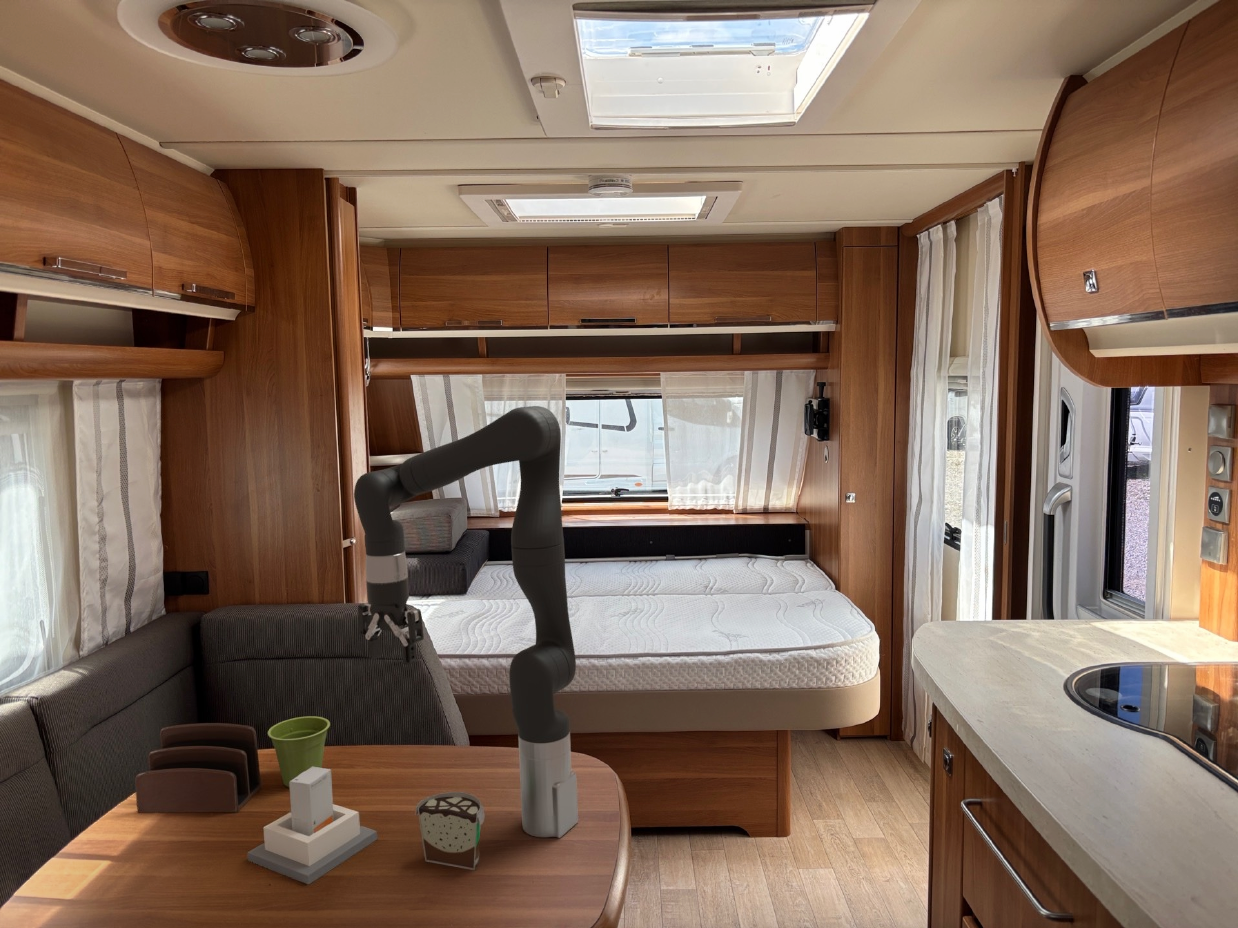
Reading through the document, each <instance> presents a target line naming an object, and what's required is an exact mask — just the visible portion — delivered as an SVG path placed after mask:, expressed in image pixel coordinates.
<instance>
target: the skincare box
mask: <svg viewBox="0 0 1238 928" xmlns="http://www.w3.org/2000/svg"><path fill="white" fill-rule="evenodd" d="M332 780H333V779H332V769H330V768H323V767H322V768H319V767H311V768H309V769H308V770H306V771H304V772H302V773H301V774H299V775H298V776H297V777H296V778H294V779H293V780H291V781H290V782H289V786H290V787H289V798H290V801H289V802H290V812H291V819H292V831H295V832H298V833H300V834H303V835H306V836H311V835H312V834H314V833H316V832H317V831H319V830H321V829H322V828H324V827H326V826H327V825H329V824H331V823H332V822H334V815H333V804H334V800H333V785H332V783H333V782H332Z"/></svg>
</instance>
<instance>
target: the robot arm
mask: <svg viewBox="0 0 1238 928" xmlns="http://www.w3.org/2000/svg"><path fill="white" fill-rule="evenodd" d="M561 435H562V433H561V426H560V423H559V421H558V418H557V417H556V415H555V414H554V413H553V412H552V411H551V410H550V409H548V408H546V407H544V406H539V405H532V406H521V407H516V408H513V409H511V410H509V411H508V412H506V413H505V414H502V415H501V416H500V417H498V418H497V419H495V420H494V421H492V422H490V423H489V424H486V425H485V426H484V427H482V428H480V429H479V430H478V429H477V430H476V431H475V432H473V433H471V434H469V435H467V436H465V437H462V438H460V439H456V440H454V441H451V442H448V443H446V444H443V445H440V446H438V447H434V448H431V449H429V450H426V451H424V452H421V453H419V454H416V455H413V456H412V457H409V458H407V459H406V460H405V461H403V462H402V463H400V464H397V465H395V466H391V467H388V468H384V469H380V470H375V471H369V472H366V473H363V474H362V475H360V476H359V478H358V479H357V481H356V482H355V485H354V490H353V499H354V505H355V507H356V508H355V509H356V511H357V515H358V517H359V521H360V523H361V527H362V530H363V532H364V544H365V546H364V547H365V564H364V565H365V566H364V567H365V581H366V582H365V583H366V585H365V587H366V597H367V598H366V599H367V602H365V603H362V604H360V605H357V625H358V627H357V628H358V635H359V636H364V637H365V639H366V640H367V646H368V648H367V649H368V655H369V658H370V659H371V660H376V659H378V658H381V656H382V646H381V644H382V643H381V637H379V636H380V635H381V632H383V631H388V632H391V633H392V632H393V634H394V636H395V637H397V638H399V640H400V641H401V643H402V647H401V648H402V660H403V661H402V663H403V665H404V666H409V665H412V664H414V662H415V661H416V659H417V658H416V644H417V643H419V642H422V641H423V640H424V627H423V619H422V618H423V617H422V611H421V609H419V608H417V609H413V610H411V609H408V606H407V604H408V603H407V602H408V600H409V599H410V594H409V589H410V588H409V577H408V576H409V574H408V561H407V556H406V550H405V533H404V532H405V531H404V530H405V529H404V526H403V523H401V522H400V521H398V520H396V519H393V517H392V513H391V510H390V507H395V506H397V505H399V504H402V503H405V502H407V501H409V500H411V499H414V498H415V497H417V496H419V495H423V494H426V493H429V492H433V491H434V490H438V489H441V488H443V487H445V486H448V485H451V484H452V483H455V482H457V481H459V480H461V479H464V477H467V476H469V475H471V474H473V473H474V472H476V471H479V470H481V469H485V468H487V467H491V466H495V465H500V464H505V463H511V462H519V464H518V465H519V475H520V490H519V496H518V501H517V505H516V509H515V514H514V518H513V523H512V528H511V535H510V536H511V537H510V540H511V541H510V542H511V543H510V545H511V559H512V570H513V575H514V578H515V580H516V582H517V584H518V586H519V588H520V589H521V591H522V593H523V594H524V596H525V598H526V599H527V600H528V603H529V605H530V606H531V609H532V612H533V616H534V621H535V623H534V625H535V644H534V645H531V646H529V647H527V648H525V649H522V650H521V651H519V652H518V653H516V654H515V655H514V657H513V658H512V659H511V661H510V665H509V677H508V678H509V679H508V680H509V689H510V690H509V691H510V700H511V709H512V717H513V719H514V722H515V725H516V726H517V734H518V735H517V736H518V737H517V738H518V755H519V756H518V757H519V759H518V760H519V781H520V782H519V783H520V804H521V806H520V807H521V821H522V822H521V823H522V830H523V831H524V832H526V834H527V835H530V836H532V837H536V838H537V837H538V838H551V837H554V838H559V839H560V838H562V837H563V836H564V835H566V834H567V832H568V831H570V829H572V828H573V827H574V826H575V825H576V824H577V823H579V814H578V811H579V809H578V788H577V787H578V784H577V772H576V771H573V770H572V756H571V755H572V754H571V750H572V749H571V724H570V723H571V722H570V721H571V720H570V717H569V715H568V714H567V713H566V712H565V711H563V710H561V709H558V708H555V699H554V694H557V693H558V692H560V691H562V690H564V689H565V688H567V687H568V686H569V685H570V684H571V683H572V682H573V680H574V678H575V674H576V669H577V665H576V664H577V661H576V659H577V658H576V653H575V651H576V650H575V646H574V640H573V634H572V629H571V621H570V615H569V605H568V603H569V602H568V593H567V583H566V582H567V581H566V561H565V559H566V554H565V538H564V530H563V518H562V517H563V515H562V513H563V512H562V504H561V503H562V502H561V491H560V465H561V464H560V462H561V448H562V447H561V444H562V443H561V442H562V441H561V439H562V436H561ZM403 627H404V628H403Z"/></svg>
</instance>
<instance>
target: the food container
mask: <svg viewBox="0 0 1238 928" xmlns="http://www.w3.org/2000/svg"><path fill="white" fill-rule="evenodd" d="M414 815H415V816H417V815H418V822H419V829H420V835H421V840H422V847H423V856H424V861H425V862H428V863H432V864H433V863H434V864H438V865H444V866H449V867H450V866H451V867H456V868H460V869H467V870H471V871H475V870H477V868H478V866H479V861H480V846H481V845H480V843H481V826H482V824H483V823H484V821H485V817H486V814H485V811H484V807H483V804H482V802H481V801H480V799H479V798H478V797H477V796H476V795H474V794H471V793H468V792H463V791H462V792H461V791H447V792H441V793H437V794H434V795H430V796H428V797H425V798H424V799H422V800H420V801H419V802H418V803H417V804H416V807H415V811H414Z"/></svg>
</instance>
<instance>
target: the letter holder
mask: <svg viewBox="0 0 1238 928" xmlns="http://www.w3.org/2000/svg"><path fill="white" fill-rule="evenodd" d="M159 740H160V746H161V747H160V748H159V749H154V750H152V751H150V752H149V753H148V755H147V764H148V770H147V771H143V772H140V773H137V774H136V776H135V778H134V784H135V799H136V810H137V813H138V814H142V813H143V814H147V813H148V814H151V813H152V814H153V813H154V814H155V813H157V812H158V813H159V814H163V813H166V814H167V813H169V814H170V813H173V814H175V813H177V814H179V813H185V814H187V812H188V813H191V812H192V813H193V814H194V813H196V812H197V813H198V812H199V813H239V811H241V809H242V808H244V806H245V805H246V804H247V803H248V802H249V801H250V800H251V799H252V798H253V797H254V796H255V795H256V794H257V793H258V792H259V791H260V790H261V788H262V779H261V770H260V762H259V761H260V760H259V750H258V741H257V740H258V739H257V733H256V730H255V728H254V726H250V725H244V724H236V723H225V722H224V723H223V722H211V723H210V722H205V723H204V722H203V723H187V724H178V725H176V724H175V725H172V726H171V725H170V726H165V727H162V728H161V729H160V731H159ZM158 813H157V814H158Z"/></svg>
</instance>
